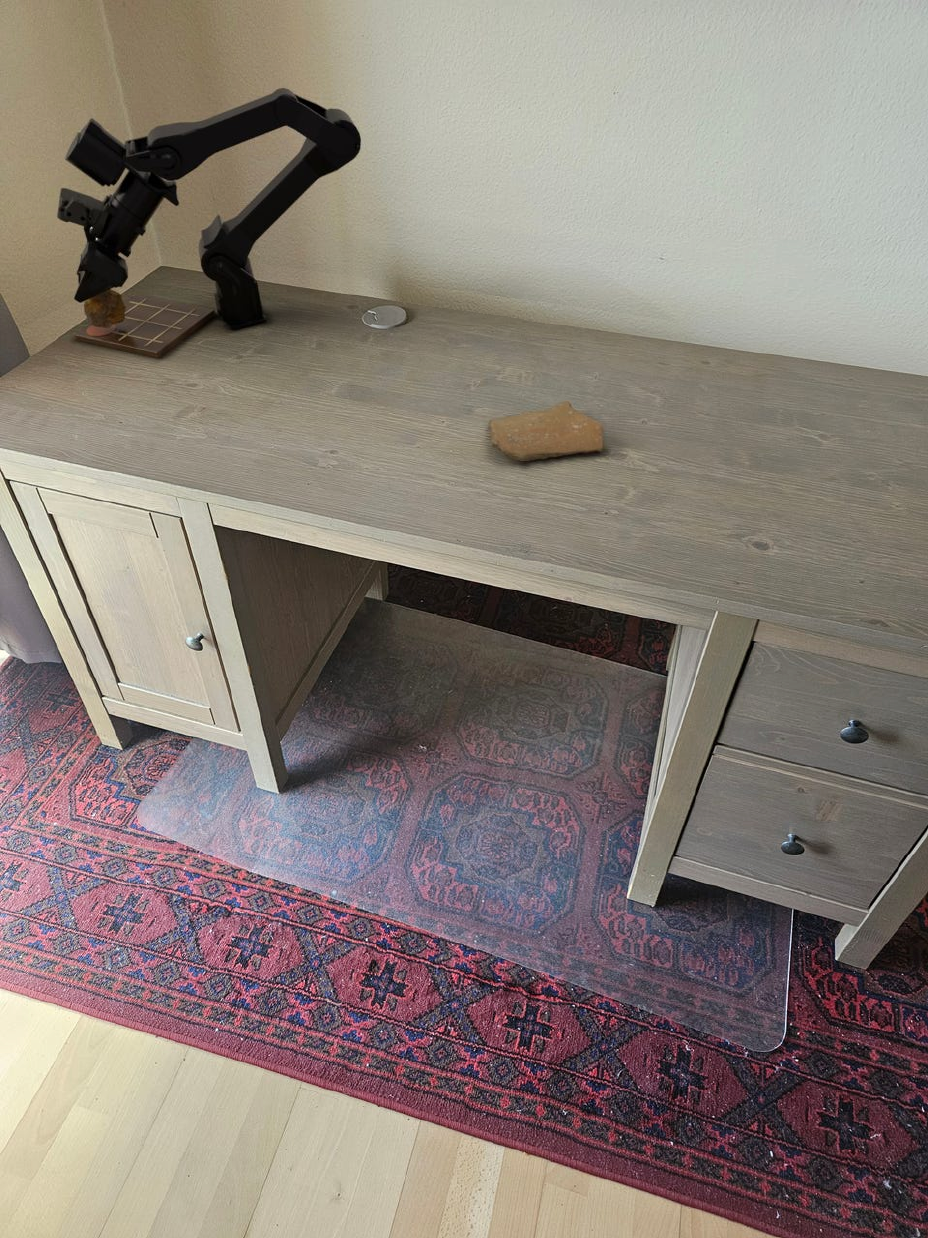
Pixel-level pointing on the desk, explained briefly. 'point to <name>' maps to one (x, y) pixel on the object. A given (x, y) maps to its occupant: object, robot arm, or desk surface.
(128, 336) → the board
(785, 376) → the desk surface
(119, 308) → the rock
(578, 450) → the stone
